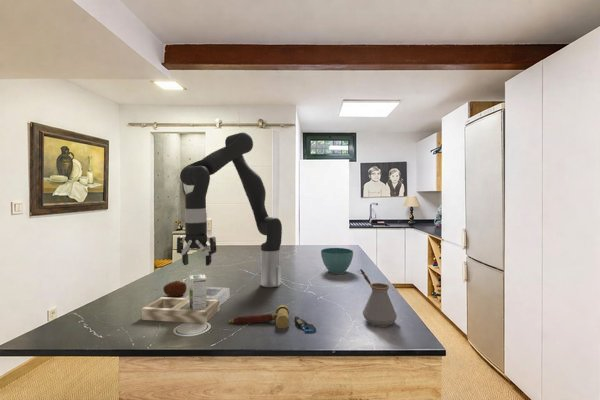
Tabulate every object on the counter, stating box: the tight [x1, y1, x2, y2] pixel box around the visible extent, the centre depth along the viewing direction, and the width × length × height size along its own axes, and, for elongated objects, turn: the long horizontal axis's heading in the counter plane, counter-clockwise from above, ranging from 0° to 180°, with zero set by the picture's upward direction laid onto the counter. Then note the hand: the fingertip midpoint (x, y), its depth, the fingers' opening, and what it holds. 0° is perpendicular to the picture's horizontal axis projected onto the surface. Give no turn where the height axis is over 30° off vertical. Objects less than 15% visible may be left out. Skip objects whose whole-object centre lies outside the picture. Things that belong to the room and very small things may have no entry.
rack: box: [140, 296, 220, 325], centre depth 111 cm, size 24×12×4 cm, turn 82°
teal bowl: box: [320, 247, 354, 275], centre depth 171 cm, size 18×18×12 cm
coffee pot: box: [357, 268, 398, 328], centre depth 109 cm, size 21×12×15 cm, turn 14°
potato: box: [163, 280, 188, 297], centre depth 132 cm, size 7×9×6 cm
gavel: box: [228, 304, 290, 329], centre depth 105 cm, size 21×5×10 cm
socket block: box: [185, 286, 231, 307], centre depth 125 cm, size 13×13×4 cm
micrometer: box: [294, 315, 317, 334], centre depth 102 cm, size 12×2×5 cm
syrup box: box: [188, 274, 207, 310], centre depth 110 cm, size 6×6×14 cm
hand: (196, 265), depth 110 cm, fingers open, 8 cm apart
